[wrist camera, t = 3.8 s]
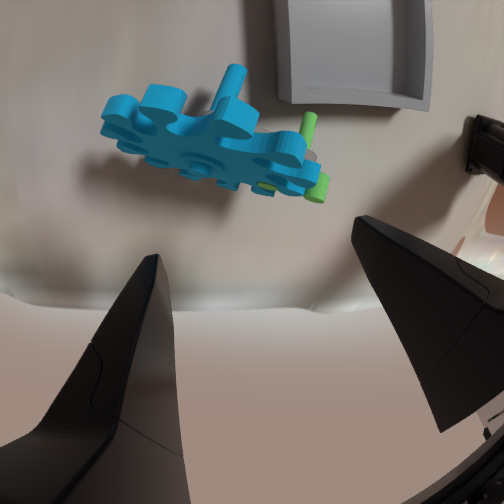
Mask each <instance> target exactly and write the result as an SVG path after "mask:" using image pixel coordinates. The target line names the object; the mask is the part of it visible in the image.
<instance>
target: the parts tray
mask: <svg viewBox="0 0 504 504" xmlns="http://www.w3.org/2000/svg"><path fill="white" fill-rule="evenodd" d="M273 16H274V34H275V55H276V79H277V98H279V99H281V100H284V101H286V102H289V103H291V104H308V103H327V104H357V105H372V106H384V107H394V108H403V109H411V110H418V111H424V112H429V106H430V97H431V86H432V71H433V12H432V0H273Z"/></svg>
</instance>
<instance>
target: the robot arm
mask: <svg viewBox="0 0 504 504" xmlns="http://www.w3.org/2000/svg"><path fill="white" fill-rule="evenodd" d="M465 171H466V173H468V174H486V175H488V176H489V177H490V178H492V179H493V180H495V181H496V182H497V183H499V184H500V185H502V186H503V187H504V123H503V122H501V121H498V120H495V119H492V118H489V117H485V116H482V115H477V116H476V120H475V126H474V132H473V137H472V142H471V147H470V152H469V156H468V160H467V164H466V169H465ZM351 242H352V245H353V247H354V249H355V251H356V253H357V256H358V258H359V260H360V262H361V264H362V267H363V269H364V271H365V274H366V276H367V278H368V280H369V282H370V284H371V286H372V287H373V289H374V291H375V293H376V295H377V296H378V298H379V300H380V302H381V304H382V306H383V308H384V309H385V311H386V313H387V315H388V317H389V319H390V321H391V323H392V325H393V327H394V329H395V331H396V333H397V335H398V337H399V339H400V341H401V343H402V345H403V347H404V349H405V351H406V353H407V355H408V357H409V360H410V362H411V364H412V366H413V368H414V371H415V373H416V375H417V377H418V380H419V382H420V384H421V387H422V389H423V391H424V394H425V396H426V398H427V401H428V403H429V406H430V408H431V411H432V414H433V416H434V419H435V421H436V424H437V427H438V429H439V431H440V433H442V432H444V431H445V430H447V429H449V428H450V427H452V426H454V425H455V424H457V423H459V422H460V421H462V420H463V419H465V418H467V417H468V416H470V415H471V414H473V413H474V412H477V415H478V417H479V419H480V420H481V422H482V425H483V427H484V433H483V435H484V437H485V439H486V442H485V443H483V444H482V445H481V446H480V447H479V448H478V449H477V450H476V451H475V452H473V453H472V454H471V455H470V456H469V457H468V458H466V459H465V460H464V461H463V462H462V463H460V464H459V465H458V466H457V467H455V468H454V469H453V470H451V471H450V472H449V473H447V474H446V475H445V476H443V477H442V478H441V479H439V480H438V481H436V482H435V483H433V484H432V485H431V486H429V487H428V488H426V489H425V490H423V491H421V492H420V493H418V494H417V495H415V496H414V497H412V498H410V499H408V500H407V501H405V502H403V503H402V504H504V280H502V279H500V278H498V277H496V276H494V275H492V274H489V273H487V272H485V271H483V270H481V269H479V268H477V267H475V266H473V265H471V264H469V263H467V262H465V261H463V260H462V259H460V258H458V257H456V256H455V257H454V256H453V255H452V254H450V253H448V252H446V251H444V250H442V249H440V248H438V247H436V246H434V245H432V244H430V243H428V242H426V241H424V240H421V239H419V238H417V237H415V236H413V235H411V234H409V233H406V232H404V231H402V230H400V229H398V228H395V227H393V226H391V225H389V224H386V223H384V222H382V221H380V220H377V219H375V218H373V217H370V216H368V215H364V216H358V217H356V218H355V220H354V224H353V230H352V235H351ZM91 342H92V343H89V345H88V346H87V348H86V350H85V351H84V353H83V355H82V357H81V358H80V360H79V362H78V363H77V365H76V367H75V369H74V370H73V372H72V373H71V375H70V376H69V378H68V379H67V381H66V383H65V384H64V386H63V387H62V389H61V390H60V392H59V393H58V395H57V396H56V398H55V400H54V401H53V403H52V404H51V406H50V408H49V409H48V411H47V412H46V414H45V416H44V417H43V419H42V420H41V422H40V423H39V424H38V425H37V426H36V427H35V428H34V429H33V430H32V431H31V432H29V433H28V434H26V435H24V436H22V437H20V438H19V439H16V440H14V441H12V442H10V443H8V444H6V445H4V446H2V447H0V504H191V502H190V496H189V490H188V484H187V478H186V471H185V464H184V458H183V450H182V442H181V433H180V424H179V413H178V401H177V389H176V372H175V351H174V326H173V317H172V310H171V302H170V295H169V286H168V279H167V275H166V272H165V269H164V266H163V263H162V260H161V257H160V255H159V254H153V255H148V256H145V257H144V259H143V260H142V262H141V263H140V265H139V266H138V267H137V269H136V270H135V272H134V273H133V275H132V276H131V278H130V279H129V281H128V282H127V284H126V285H125V287H124V288H123V290H122V291H121V293H120V294H119V296H118V297H117V299H116V301H115V302H114V304H113V305H112V307H111V308H110V310H109V312H108V313H107V315H106V316H105V318H104V320H103V321H102V323H101V324H100V326H99V328H98V330H97V331H96V333H95V334H94V336H93V338H92V340H91ZM465 501H466V502H465Z"/></svg>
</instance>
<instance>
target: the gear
mask: <svg viewBox="0 0 504 504" xmlns="http://www.w3.org/2000/svg"><path fill="white" fill-rule="evenodd" d="M246 74H247V69H246V68H245V67H244V66H242V65H239V64H230V65H229V66H228V68H227V70H226V72H225V75H224V77H223V79H222V82H221V84H220V86H219V89H218V91H217V93H216V96H215V98H214V101H213V103H212V106H211V108H210V110H207V111H204V112H202V113H201V116H199V117H190V116H186V115H183V114H181V110H182V108H183V106H184V103H185V101H186V99H187V95H186V93H185V92H184V91H183V90H181V89H178V88H175V87H170V86H164V85H155V84H150V85H149V87H148V89H147V91H146V93H145V95H144V97H143V99H142V101H141V104H140V103H139V101H138V100H137V99H135V98H134V97H132V96H130V95H127V94H121V95H116V96H113V97H111V98H109V100H108V102H107V104H106V106H105V109H104V111H103V113H102V115H101V118H102V119H104V120H105V122H104V124H103V126H102V129H101V132H100V133H101V135H103V136H105V137H108V138H112V139H117V140H118V142H117V145H116V146H117V148H118V149H120V150H121V151H122V152H125V153H129V154H138V155H145V156H146V157H145V159H144V161H145V162H146V163H148V164H150V165H152V166H154V167H157V168H178V169H181V170H180V173H179V175H181V176H183V177H186V178H189V179H192V180H195V181H200V178H217V179H218V180H217V184H216V185H217V186H220V187H223V188H226V189H230V190H234V191H237V190H238V187H239V184H240V182H241V183H246V184H249V185H251V186H252V188H251V191H252V192H254V193H256V194H260V195H265V196H271V197H274V194H275V191H277V190H278V191H279V192H281V193H283V194H285V195H288V196H304V198H305V199H306V200H309V201H311V202H315V203H324V201H325V197H326V192H327V188H328V184H329V179H330V177H329V176H328V175H327V174H325V173H322V172H320V168H321V165H320V164H318V163H316V159H317V155H316V154H315V153H314V152H313V151H311V150H310V146H311V142H312V138H313V133H314V129H315V125H316V121H317V115H316V114H315V113H313V112H305V113H304V116H303V119H302V123H301V127H300V131H299V133H297V132H293V131H279V132H270V131H267V130H265V129H263V128H260V127H258V126H256V123H257V120H258V117H259V114H260V113H259V112H258V111H257V110H256V109H254V108H253V107H251V106H250V105H248V104H246V103H245V102H243V101H241V100H239V99H237V97H238V95H239V92H240V89H241V87H242V84H243V82H244V79H245V77H246ZM305 189H306V190H305ZM304 193H305V194H304Z"/></svg>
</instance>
